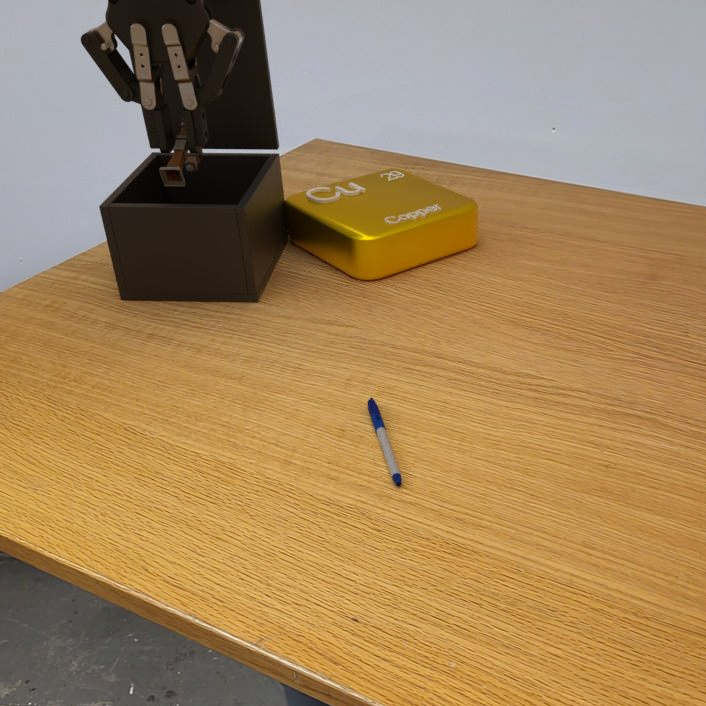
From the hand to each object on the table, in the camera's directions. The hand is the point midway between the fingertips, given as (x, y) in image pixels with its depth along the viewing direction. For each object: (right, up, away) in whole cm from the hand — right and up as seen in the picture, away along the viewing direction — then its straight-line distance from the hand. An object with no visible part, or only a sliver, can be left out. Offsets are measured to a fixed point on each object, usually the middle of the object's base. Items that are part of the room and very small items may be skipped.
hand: (182, 149), depth 82 cm
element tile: (+17, -5, +14) cm, 22 cm away
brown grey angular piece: (0, -2, +1) cm, 2 cm away
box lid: (0, +9, +4) cm, 10 cm away
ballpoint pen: (+19, -26, -16) cm, 36 cm away
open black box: (0, -9, +9) cm, 12 cm away
